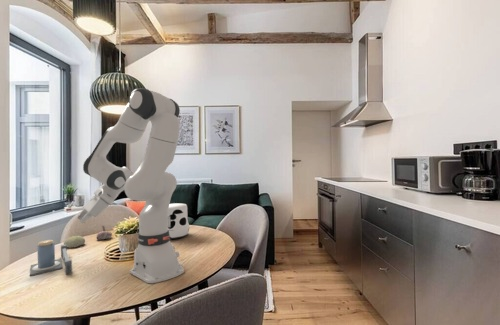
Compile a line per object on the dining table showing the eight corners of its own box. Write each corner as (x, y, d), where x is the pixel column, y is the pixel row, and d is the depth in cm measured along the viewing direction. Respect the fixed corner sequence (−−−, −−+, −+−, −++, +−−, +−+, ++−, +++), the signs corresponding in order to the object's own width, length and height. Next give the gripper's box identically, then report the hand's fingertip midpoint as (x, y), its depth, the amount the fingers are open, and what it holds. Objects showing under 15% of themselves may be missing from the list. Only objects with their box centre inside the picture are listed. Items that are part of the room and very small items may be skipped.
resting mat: (62, 268, 102) (62, 266, 102) (30, 276, 95) (29, 274, 95) (60, 260, 111) (60, 258, 111) (30, 266, 105) (30, 264, 105)
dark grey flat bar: (71, 273, 97) (71, 260, 97) (65, 274, 96) (65, 261, 96) (66, 254, 117) (66, 244, 117) (61, 256, 116) (60, 245, 116)
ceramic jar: (55, 265, 103) (54, 241, 103) (37, 269, 99) (37, 244, 99) (54, 261, 107) (54, 238, 107) (37, 265, 104) (37, 241, 103)
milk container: (186, 231, 155) (186, 202, 154) (191, 238, 139) (191, 206, 139) (157, 234, 148) (156, 204, 147) (159, 243, 132) (158, 209, 132)
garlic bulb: (93, 241, 138) (93, 226, 138) (101, 237, 145) (101, 223, 145) (107, 241, 138) (106, 226, 138) (114, 236, 145) (114, 223, 145)
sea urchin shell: (70, 246, 124) (64, 233, 127) (65, 255, 127) (59, 242, 130) (89, 241, 132) (83, 229, 135) (84, 249, 135) (79, 238, 138)
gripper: (94, 190, 124) (71, 212, 117) (102, 193, 108) (76, 219, 102) (105, 198, 126) (82, 220, 120) (114, 202, 111) (89, 228, 105)
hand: (79, 220), depth 111 cm, fingers open, 8 cm apart
